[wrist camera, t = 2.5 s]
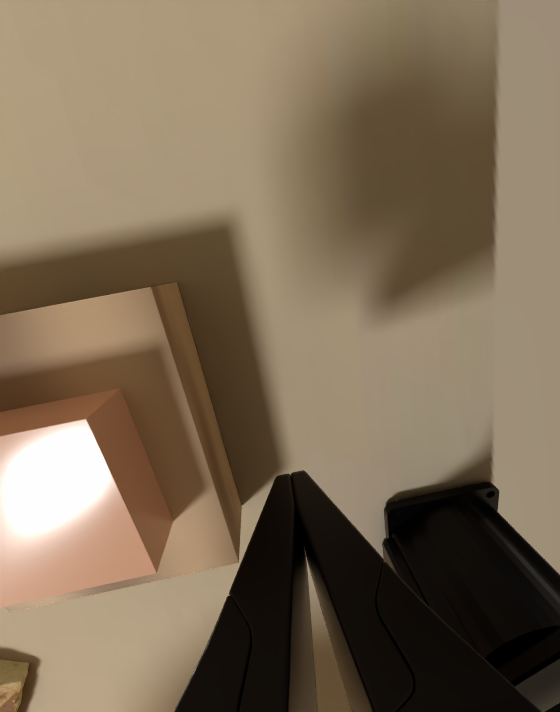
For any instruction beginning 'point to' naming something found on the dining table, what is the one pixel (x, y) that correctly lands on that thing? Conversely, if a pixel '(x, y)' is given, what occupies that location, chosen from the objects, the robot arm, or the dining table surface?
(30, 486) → the pink square block
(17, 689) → the shard
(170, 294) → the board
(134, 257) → the dining table surface
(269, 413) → the dining table surface
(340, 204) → the dining table surface
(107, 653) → the dining table surface
